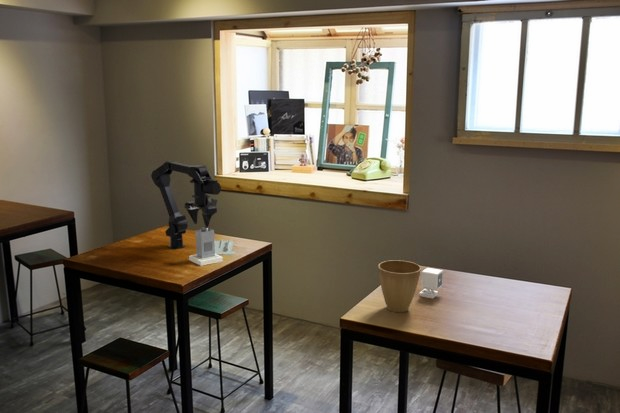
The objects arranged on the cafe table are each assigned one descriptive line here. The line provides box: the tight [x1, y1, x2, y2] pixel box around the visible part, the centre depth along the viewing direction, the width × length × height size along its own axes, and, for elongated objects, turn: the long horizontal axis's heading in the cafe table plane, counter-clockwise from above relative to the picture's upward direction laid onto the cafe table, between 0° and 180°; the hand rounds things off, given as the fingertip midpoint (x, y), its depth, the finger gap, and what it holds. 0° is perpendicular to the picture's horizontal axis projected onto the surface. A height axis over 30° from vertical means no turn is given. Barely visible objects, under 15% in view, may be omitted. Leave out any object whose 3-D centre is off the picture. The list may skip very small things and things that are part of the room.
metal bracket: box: [214, 238, 236, 256], centre depth 292 cm, size 14×6×15 cm
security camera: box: [418, 267, 444, 299], centre depth 232 cm, size 6×7×10 cm
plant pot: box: [377, 259, 422, 313], centre depth 218 cm, size 15×15×16 cm
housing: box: [195, 226, 215, 259], centre depth 275 cm, size 5×6×13 cm
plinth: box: [188, 253, 224, 267], centre depth 277 cm, size 11×11×2 cm
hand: (201, 225), depth 288 cm, fingers open, 9 cm apart
